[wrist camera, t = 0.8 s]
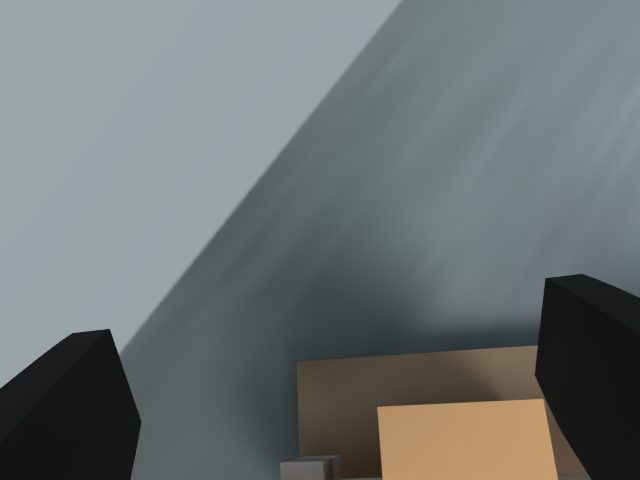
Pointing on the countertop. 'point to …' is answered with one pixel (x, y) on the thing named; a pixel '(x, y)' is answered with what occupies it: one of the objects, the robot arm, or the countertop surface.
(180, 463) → the countertop surface
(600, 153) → the countertop surface
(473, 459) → the sleeve
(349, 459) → the rail stand
